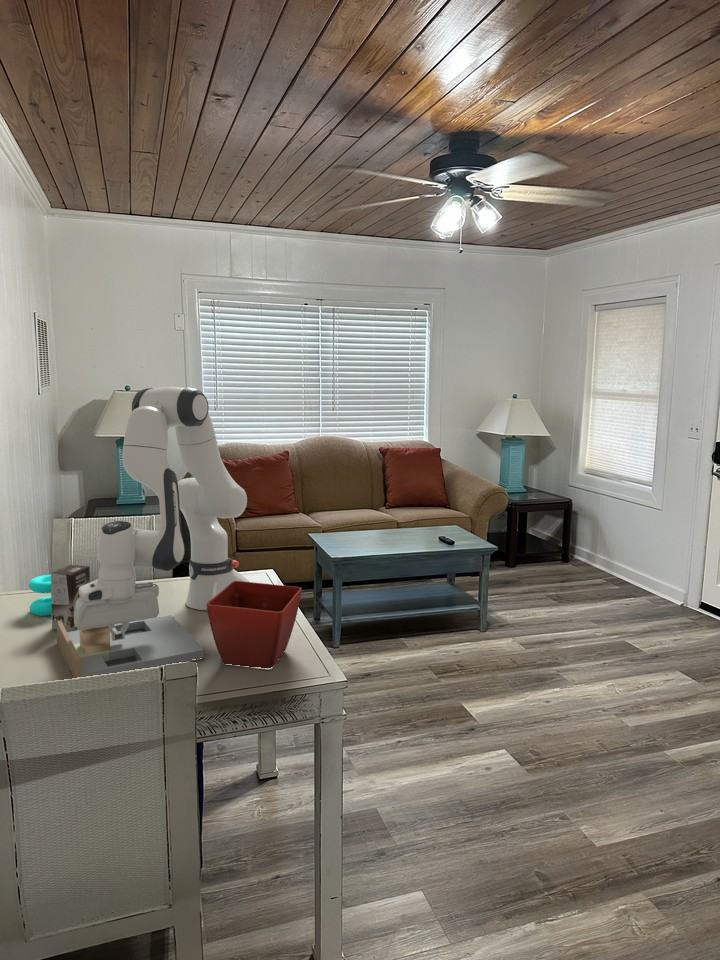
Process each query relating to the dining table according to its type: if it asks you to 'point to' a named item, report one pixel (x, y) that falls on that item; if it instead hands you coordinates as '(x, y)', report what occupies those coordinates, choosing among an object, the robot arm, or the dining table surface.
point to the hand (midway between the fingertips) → (117, 639)
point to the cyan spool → (43, 604)
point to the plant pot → (253, 622)
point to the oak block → (95, 639)
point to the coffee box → (67, 593)
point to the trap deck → (131, 648)
